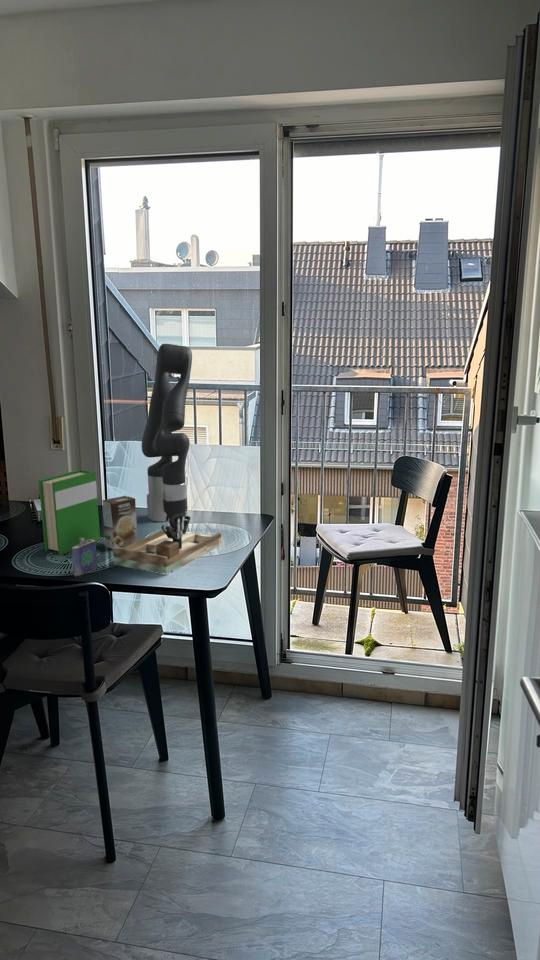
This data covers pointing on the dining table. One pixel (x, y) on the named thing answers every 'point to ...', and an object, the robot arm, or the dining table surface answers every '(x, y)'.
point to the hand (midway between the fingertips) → (177, 549)
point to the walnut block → (167, 549)
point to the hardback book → (69, 510)
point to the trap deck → (141, 560)
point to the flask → (84, 557)
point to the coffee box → (119, 521)
